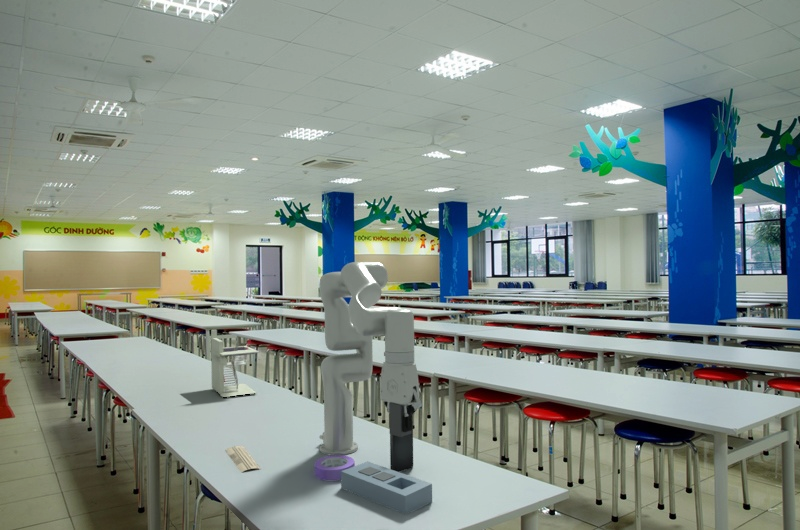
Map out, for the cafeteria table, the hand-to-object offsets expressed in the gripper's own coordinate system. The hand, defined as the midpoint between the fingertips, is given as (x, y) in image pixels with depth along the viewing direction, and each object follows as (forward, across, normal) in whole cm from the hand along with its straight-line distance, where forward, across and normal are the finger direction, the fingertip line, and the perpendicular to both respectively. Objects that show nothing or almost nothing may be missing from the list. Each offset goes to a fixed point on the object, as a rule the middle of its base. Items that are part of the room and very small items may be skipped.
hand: (400, 428), depth 137 cm
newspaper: (+20, -59, -12) cm, 64 cm away
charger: (+1, 0, 0) cm, 1 cm away
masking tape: (+19, -28, +1) cm, 34 cm away
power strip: (+19, -6, 0) cm, 20 cm away
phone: (+19, -15, +16) cm, 29 cm away
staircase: (+19, -153, +39) cm, 159 cm away
